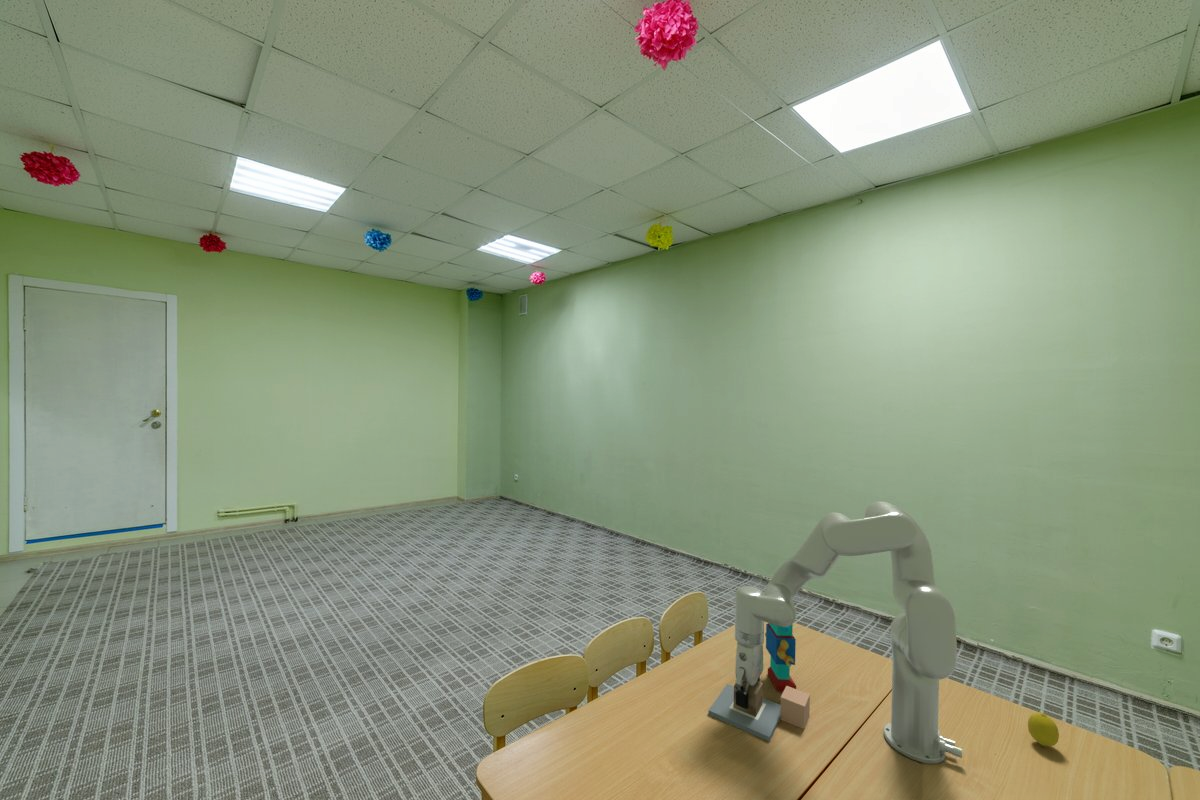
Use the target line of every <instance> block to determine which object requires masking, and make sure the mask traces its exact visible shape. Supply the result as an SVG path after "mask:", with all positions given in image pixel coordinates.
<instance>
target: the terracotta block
mask: <svg viewBox="0 0 1200 800" xmlns="http://www.w3.org/2000/svg"><path fill="white" fill-rule="evenodd" d="M810 698H811V695H810V693H808V692H805V691H802V690H799V689H797V688H796V689H794V688H791V687H789V686H786V688H785V690H784V691H782V693H781V695H780V705H781V707H780V721H782V722H783V721H784V722H786V723H789V724H791V725H793V726H796V727H798V728H800V729H803V730H805V728H806V726H807V724H808V721H809V719H810V710H811V707H810V702H811V699H810Z"/></svg>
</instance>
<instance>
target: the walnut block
mask: <svg viewBox="0 0 1200 800" xmlns="http://www.w3.org/2000/svg"><path fill="white" fill-rule="evenodd" d="M743 680H746V681H747V679H746V678H743ZM745 685H746V684H745V683H743V682H742V686H743V687H744V688H745ZM733 686H734V707H733V708H736V709H738V710H740V711H743V712H745V713H748V714H750V715H752V716H755V717H756V716H757V714H758V712H759V710H760V708H761V706H762V704H763V698H764V697H763V695H764V691H763V688H764V682H762V681H760V682H759V681H757V682H756V683H755V684H754V685H753V686H751V685H750V684H749V687H748V692H747V693H749V703H748V709H745V708H742V707H740V706H738V705H736V682H735V683H734V685H733Z"/></svg>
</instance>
